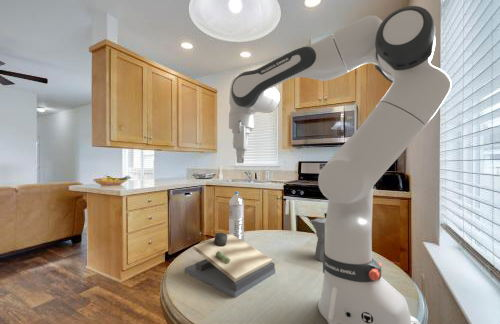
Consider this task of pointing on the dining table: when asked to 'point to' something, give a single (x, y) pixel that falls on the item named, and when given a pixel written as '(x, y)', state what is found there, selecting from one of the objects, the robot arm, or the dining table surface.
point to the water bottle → (236, 216)
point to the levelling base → (223, 282)
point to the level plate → (232, 256)
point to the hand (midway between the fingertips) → (240, 163)
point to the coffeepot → (319, 236)
